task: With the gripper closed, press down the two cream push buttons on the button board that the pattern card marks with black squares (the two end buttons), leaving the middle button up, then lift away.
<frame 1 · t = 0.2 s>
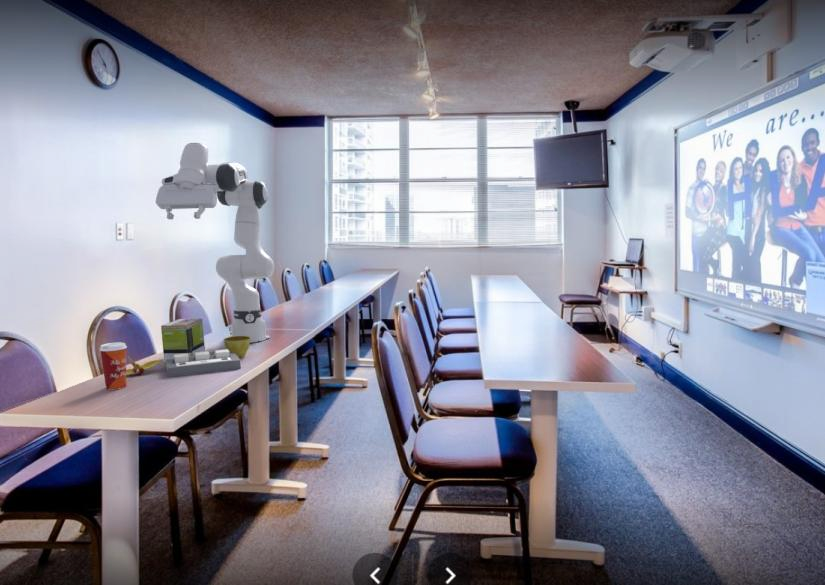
hand: (183, 218, 178), 54 cm above the table, tool tilted 30°, fingers open, 8 cm apart
flower pot: (238, 356, 209), on the table
paper cup: (116, 387, 168), on the table
origami crane: (138, 374, 184), on the table
button board: (203, 368, 191), on the table
button 2: (222, 354, 196), point 4 cm above the table, slide at 0.0 cm
button 1: (181, 359, 190), point 4 cm above the table, slide at 0.0 cm
tea box: (185, 358, 207), on the table
button middle: (202, 357, 193), point 4 cm above the table, slide at 0.0 cm
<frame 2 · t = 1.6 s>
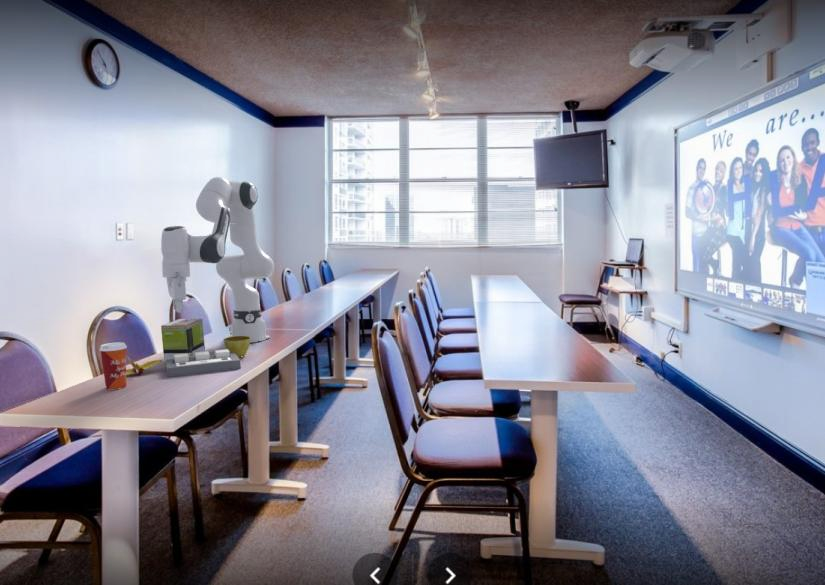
hand: (178, 311, 187), 21 cm above the table, tool pointing down, fingers open, 8 cm apart
nothing on the table moved.
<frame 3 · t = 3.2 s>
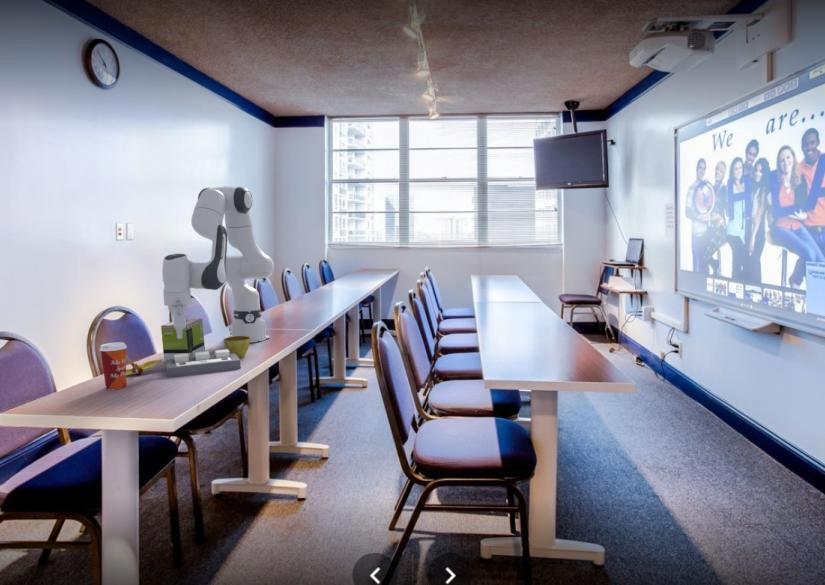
hand: (179, 338, 188), 11 cm above the table, tool pointing down, fingers closed
nothing on the table moved.
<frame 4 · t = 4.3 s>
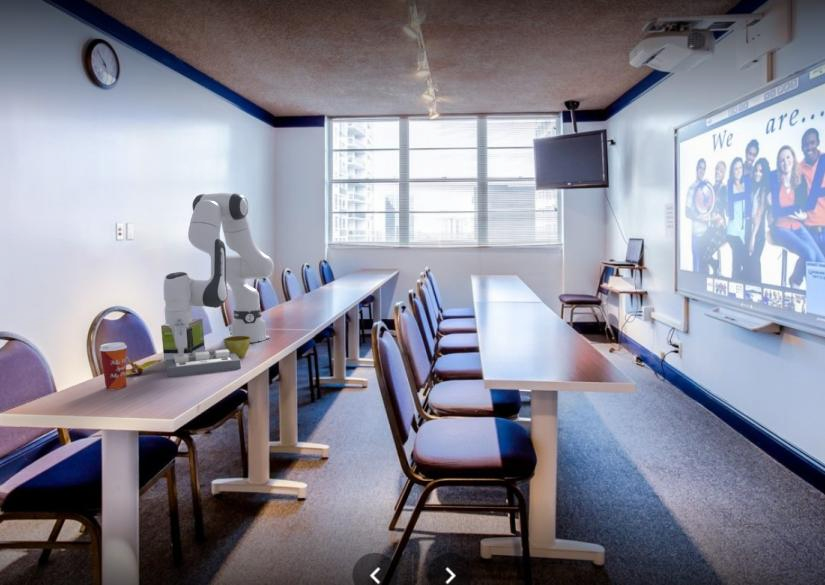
hand: (181, 356, 189), 5 cm above the table, tool pointing down, fingers closed, pressing on button 1
button 1: (181, 360, 190), point 3 cm above the table, slide at 0.3 cm, touching gripper
everything else where it was.
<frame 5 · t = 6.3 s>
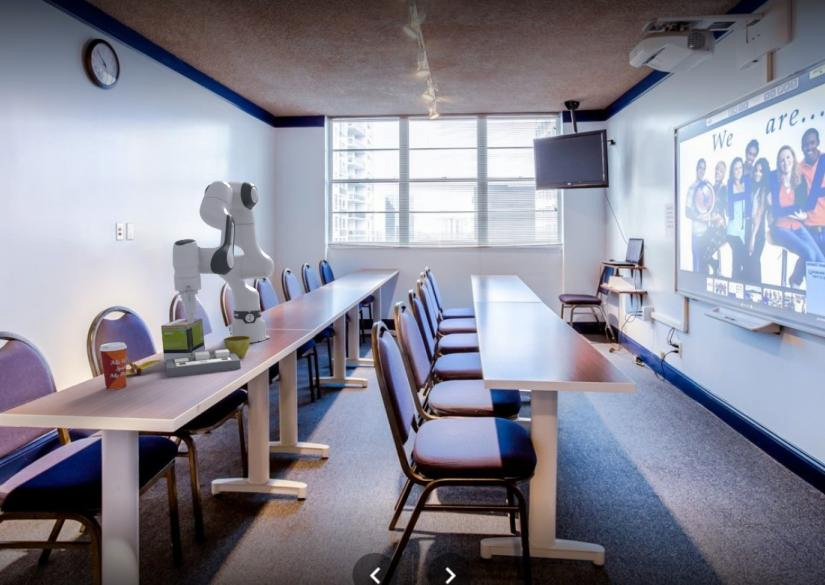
hand: (190, 322, 190), 16 cm above the table, tool pointing down, fingers closed
button 1: (181, 363, 190), point 2 cm above the table, slide at 1.7 cm
everything else where it was.
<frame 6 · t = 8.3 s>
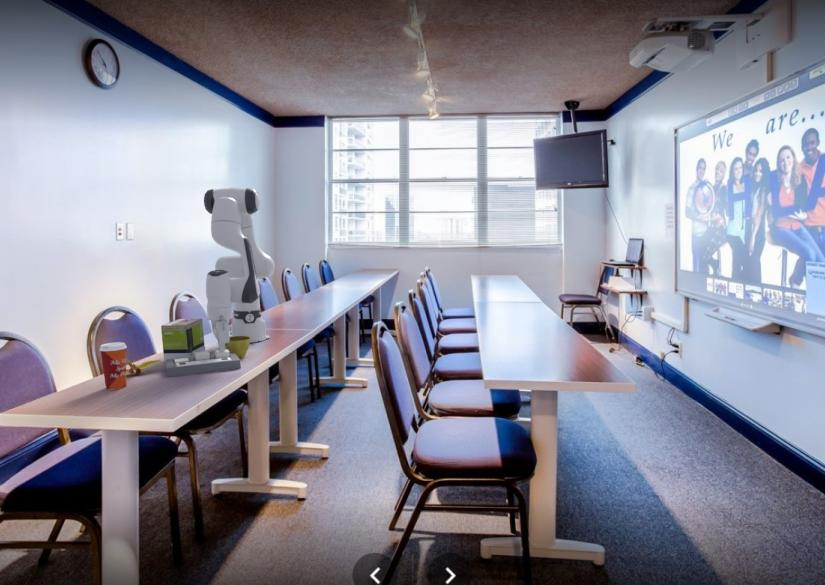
hand: (221, 351, 195), 5 cm above the table, tool pointing down, fingers closed, pressing on button 2
button 2: (222, 355, 196), point 3 cm above the table, slide at 0.0 cm, touching gripper
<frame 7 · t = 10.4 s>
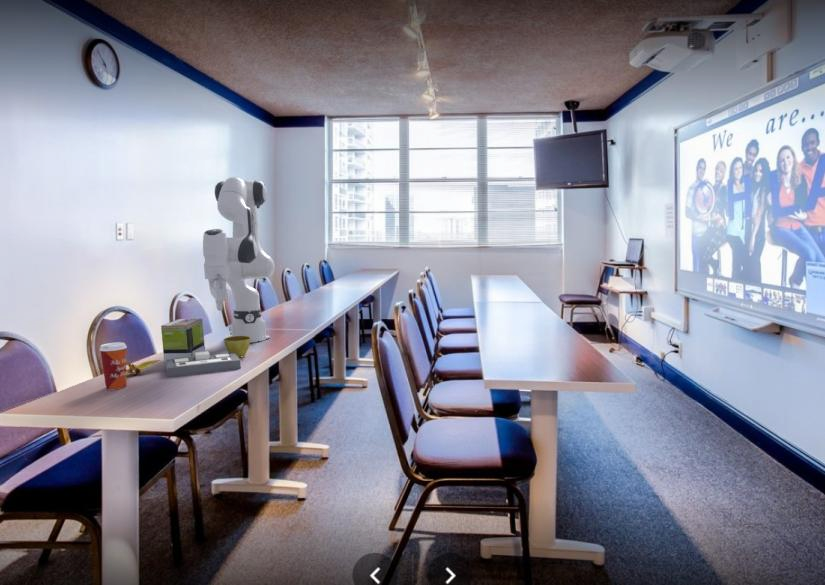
hand: (219, 310, 197), 20 cm above the table, tool pointing down, fingers closed
button 2: (222, 359, 196), point 2 cm above the table, slide at 1.7 cm
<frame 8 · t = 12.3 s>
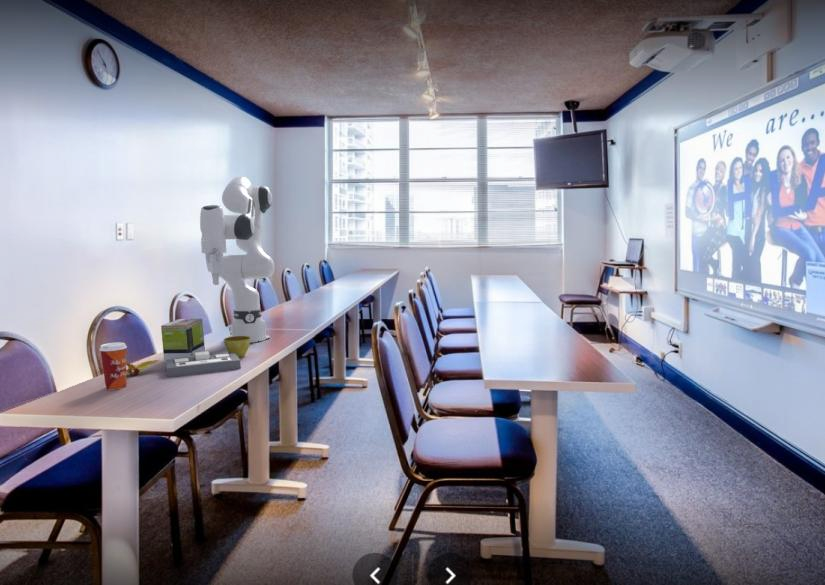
hand: (215, 284, 201), 29 cm above the table, tool pointing down, fingers closed
at the end: button 1 slide at 1.7 cm; button 2 slide at 1.7 cm; button middle slide at 0.0 cm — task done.
